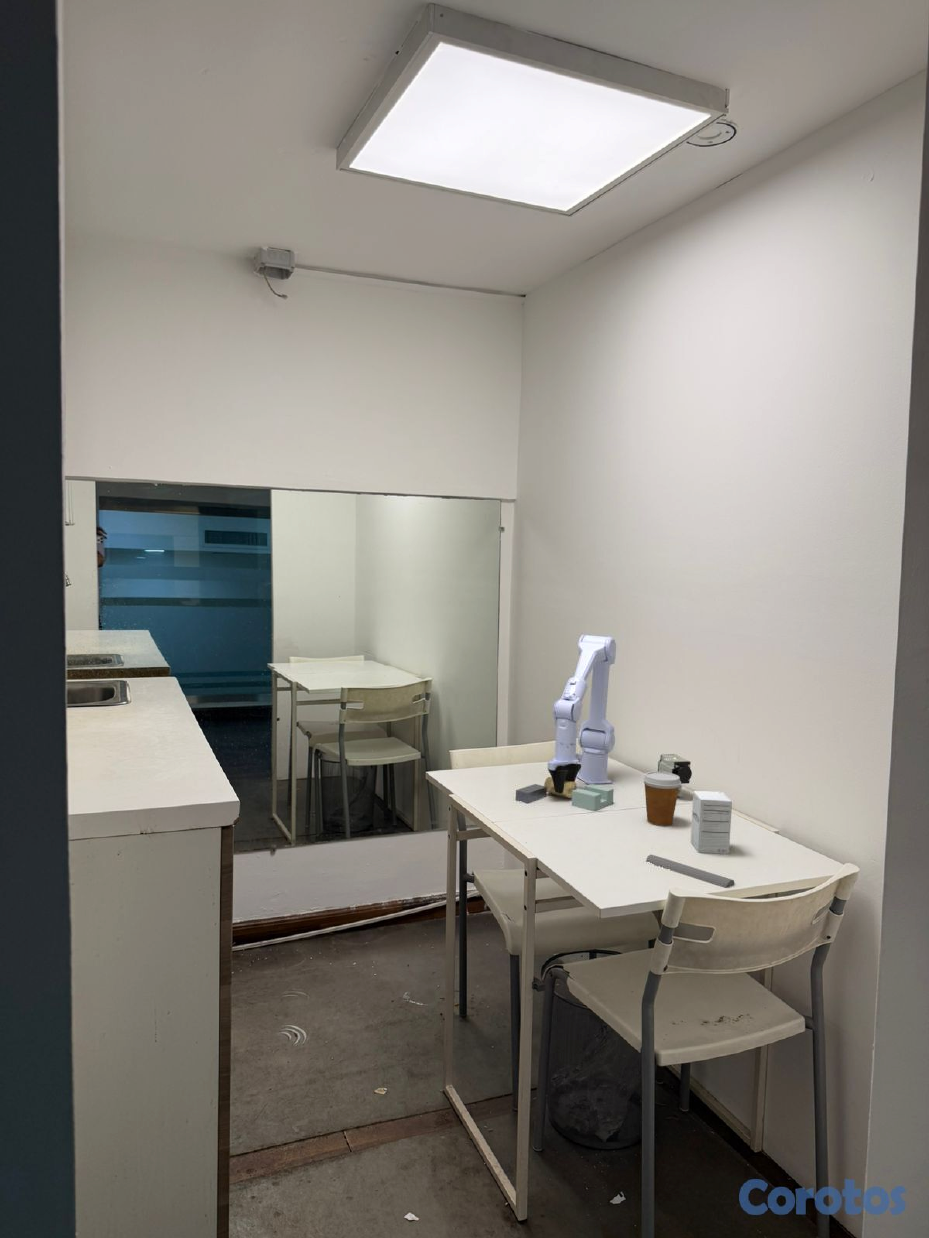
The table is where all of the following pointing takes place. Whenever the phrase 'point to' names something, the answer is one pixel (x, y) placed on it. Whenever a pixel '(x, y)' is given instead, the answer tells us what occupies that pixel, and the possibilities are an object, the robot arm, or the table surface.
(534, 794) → the grey rectangular blocks
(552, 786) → the gold rounded piece
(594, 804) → the v block
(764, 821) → the table surface
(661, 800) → the disposable coffee cup
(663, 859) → the half round rod
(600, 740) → the robot arm
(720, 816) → the supplement box
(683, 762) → the pneumatic valve
